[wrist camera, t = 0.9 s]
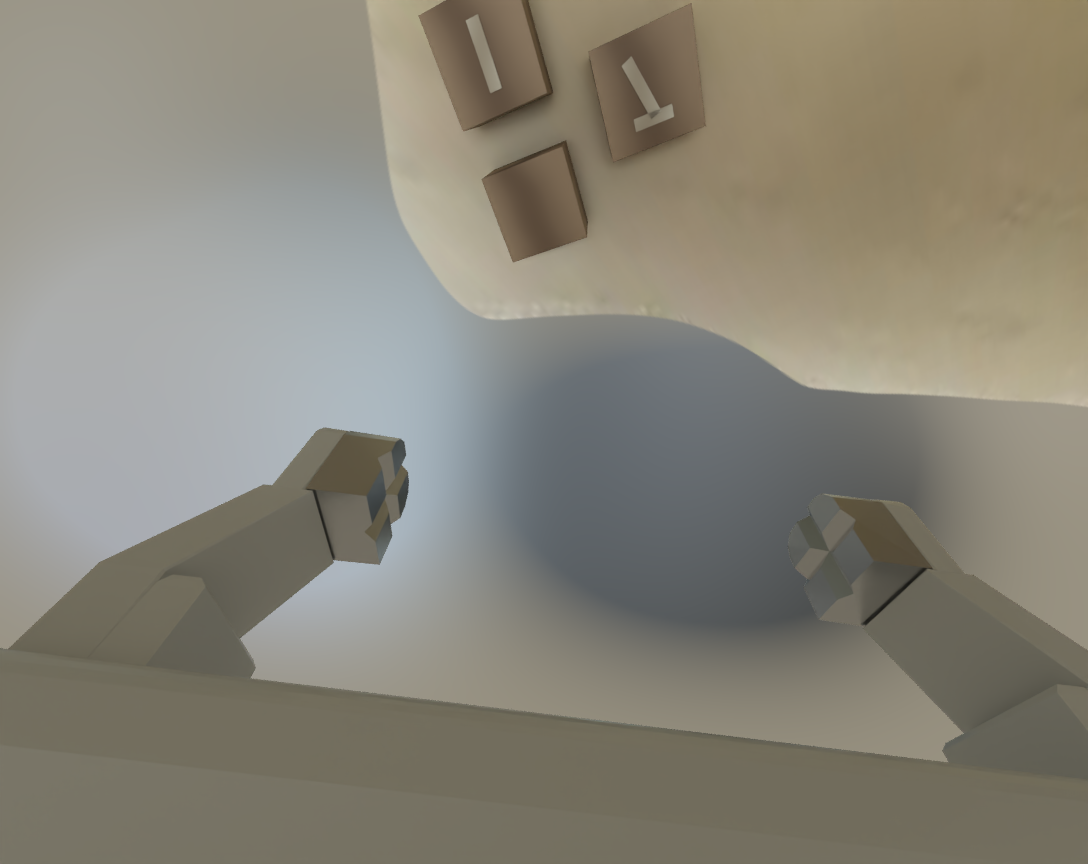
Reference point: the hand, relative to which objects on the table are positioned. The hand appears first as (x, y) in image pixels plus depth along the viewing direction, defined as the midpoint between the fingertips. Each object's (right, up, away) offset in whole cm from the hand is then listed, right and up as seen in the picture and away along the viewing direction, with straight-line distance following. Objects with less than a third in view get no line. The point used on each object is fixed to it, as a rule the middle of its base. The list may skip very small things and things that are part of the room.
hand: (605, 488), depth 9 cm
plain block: (-1, +20, +27) cm, 34 cm away
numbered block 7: (+6, +25, +22) cm, 34 cm away
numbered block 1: (-4, +27, +22) cm, 35 cm away
